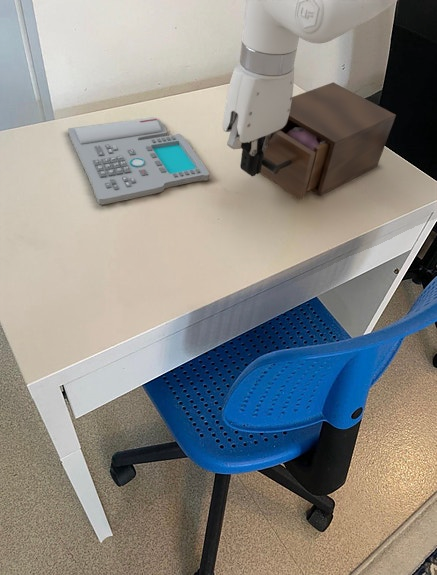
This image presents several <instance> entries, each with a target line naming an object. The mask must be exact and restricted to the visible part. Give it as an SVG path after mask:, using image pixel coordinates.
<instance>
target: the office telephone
mask: <svg viewBox="0 0 437 575" xmlns="http://www.w3.org/2000/svg"><path fill="white" fill-rule="evenodd" d="M67 131H68V136H69V138H70V140H71V143H72V145H73V147H74V149H75V151H76V154H77V156H78V158H79V160H80V162H81V165H82V167H83V169H84V171H85V173H86V176H87V178H88V180H89V182H90V184H91V186H92V189H93V193H94V196H95V199H96V200H97V202H98V205H100V206H101V205H109V204H113V203H118V202H122V201H128V200H131V199H136V198H140V197H145V196H150V195H155V194H158V193H162V192H164V191H165V189H168V188H171V187H176V186H180V185H184V184H190V183H194V182H200V181H201V182H202V181H208V180H209V179H210V172H209V170H208V169H207V167H206V166H205V164H204V163H203V161H202V160H201V159H200V157H199V156H198V154H197V153H196V152H195V150H194V149H193V147H192V146H191V145H190V143H189V142H188V141H187V139H186V138H185V137H184V136H183V134H181V133H175V134H170V135H168V130H167V129H166V127H165V125H164V124H163V123H162V121H161V120H160V119H159V118H158V117H154V116H151V117H143V118H139V119H138V118H136V119H131V120H122V121H121V120H120V121H115V122H106V123H100V124H91V125H85V126H77V127H68V129H67Z"/></svg>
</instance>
